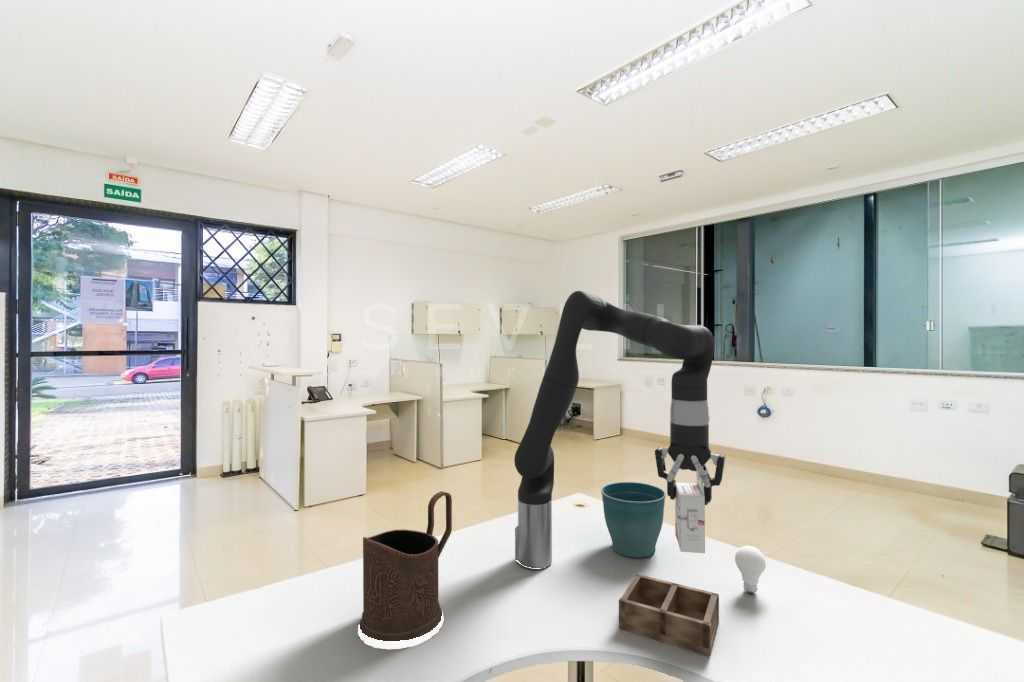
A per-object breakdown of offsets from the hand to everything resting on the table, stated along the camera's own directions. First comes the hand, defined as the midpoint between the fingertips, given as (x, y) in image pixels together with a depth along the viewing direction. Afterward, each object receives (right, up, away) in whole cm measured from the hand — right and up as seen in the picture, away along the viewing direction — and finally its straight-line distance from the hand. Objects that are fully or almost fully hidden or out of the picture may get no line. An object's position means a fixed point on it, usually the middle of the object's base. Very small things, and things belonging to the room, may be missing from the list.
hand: (689, 500), depth 99 cm
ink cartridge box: (0, -9, 0) cm, 9 cm away
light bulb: (+20, -27, +15) cm, 37 cm away
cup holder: (-59, -28, +6) cm, 66 cm away
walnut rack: (-3, -27, +2) cm, 28 cm away
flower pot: (-2, -27, +38) cm, 47 cm away
